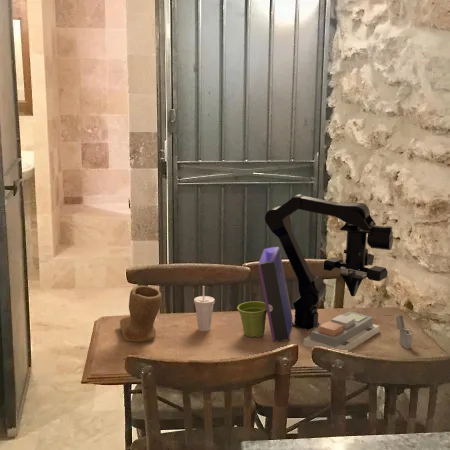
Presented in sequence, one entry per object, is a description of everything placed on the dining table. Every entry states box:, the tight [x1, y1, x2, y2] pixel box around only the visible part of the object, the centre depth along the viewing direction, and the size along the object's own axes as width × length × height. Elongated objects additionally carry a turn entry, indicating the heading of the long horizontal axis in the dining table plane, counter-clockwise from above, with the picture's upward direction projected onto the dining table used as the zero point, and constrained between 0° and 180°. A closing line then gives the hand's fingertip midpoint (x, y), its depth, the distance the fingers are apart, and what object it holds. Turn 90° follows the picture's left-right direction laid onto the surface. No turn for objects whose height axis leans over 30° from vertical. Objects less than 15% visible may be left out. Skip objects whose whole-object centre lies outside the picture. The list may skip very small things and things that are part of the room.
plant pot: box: [236, 300, 267, 338], centre depth 200 cm, size 9×9×9 cm
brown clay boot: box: [119, 285, 163, 343], centre depth 198 cm, size 15×12×15 cm
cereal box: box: [257, 246, 293, 342], centre depth 201 cm, size 17×5×24 cm, turn 171°
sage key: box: [347, 313, 366, 323], centre depth 203 cm, size 5×5×2 cm
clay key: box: [318, 320, 343, 337], centre depth 192 cm, size 5×5×2 cm
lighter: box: [395, 314, 413, 350], centre depth 194 cm, size 7×2×8 cm, turn 15°
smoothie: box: [193, 285, 216, 332], centre depth 203 cm, size 6×6×14 cm
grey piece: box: [303, 310, 380, 352], centre depth 198 cm, size 12×24×4 cm, turn 140°
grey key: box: [331, 314, 355, 330], centre depth 197 cm, size 5×5×2 cm
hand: (353, 296), depth 199 cm, fingers closed
